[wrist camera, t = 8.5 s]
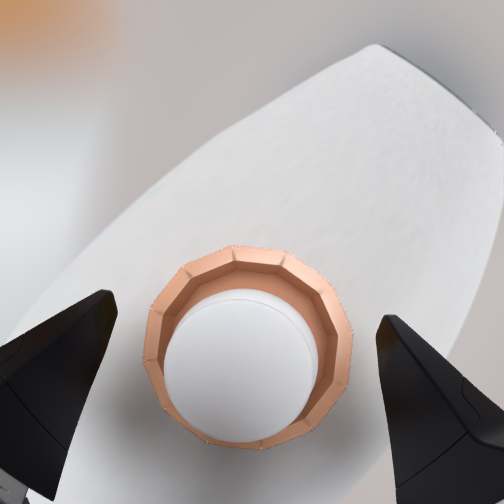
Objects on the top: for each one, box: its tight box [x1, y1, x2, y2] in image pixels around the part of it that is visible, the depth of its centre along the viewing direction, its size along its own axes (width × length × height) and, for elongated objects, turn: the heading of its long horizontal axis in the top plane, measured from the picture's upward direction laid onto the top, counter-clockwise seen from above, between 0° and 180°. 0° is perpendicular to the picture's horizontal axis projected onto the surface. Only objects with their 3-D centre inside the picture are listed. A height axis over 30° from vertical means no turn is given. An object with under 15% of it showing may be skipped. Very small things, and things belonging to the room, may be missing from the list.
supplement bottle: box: [164, 289, 318, 442], centre depth 12 cm, size 5×5×10 cm
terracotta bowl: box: [143, 245, 353, 451], centre depth 16 cm, size 11×11×3 cm
